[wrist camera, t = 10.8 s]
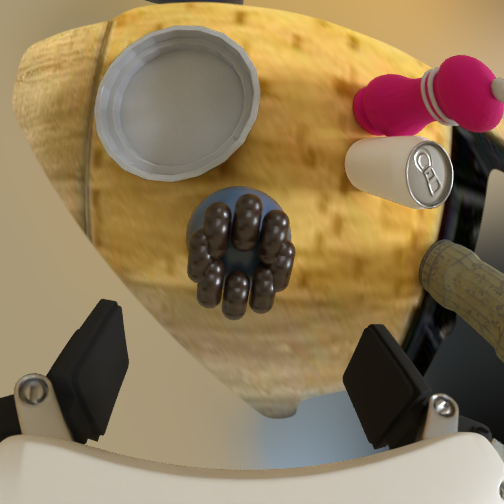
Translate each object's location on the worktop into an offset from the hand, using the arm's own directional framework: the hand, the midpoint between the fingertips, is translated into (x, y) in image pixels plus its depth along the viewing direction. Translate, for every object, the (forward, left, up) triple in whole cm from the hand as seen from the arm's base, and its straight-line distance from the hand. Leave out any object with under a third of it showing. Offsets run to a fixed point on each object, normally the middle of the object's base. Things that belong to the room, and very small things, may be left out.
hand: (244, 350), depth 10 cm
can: (-9, +14, -22) cm, 28 cm away
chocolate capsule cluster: (0, 0, -11) cm, 11 cm away
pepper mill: (-16, +14, -22) cm, 30 cm away
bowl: (-12, -8, -22) cm, 26 cm away
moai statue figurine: (+2, +31, -22) cm, 38 cm away
